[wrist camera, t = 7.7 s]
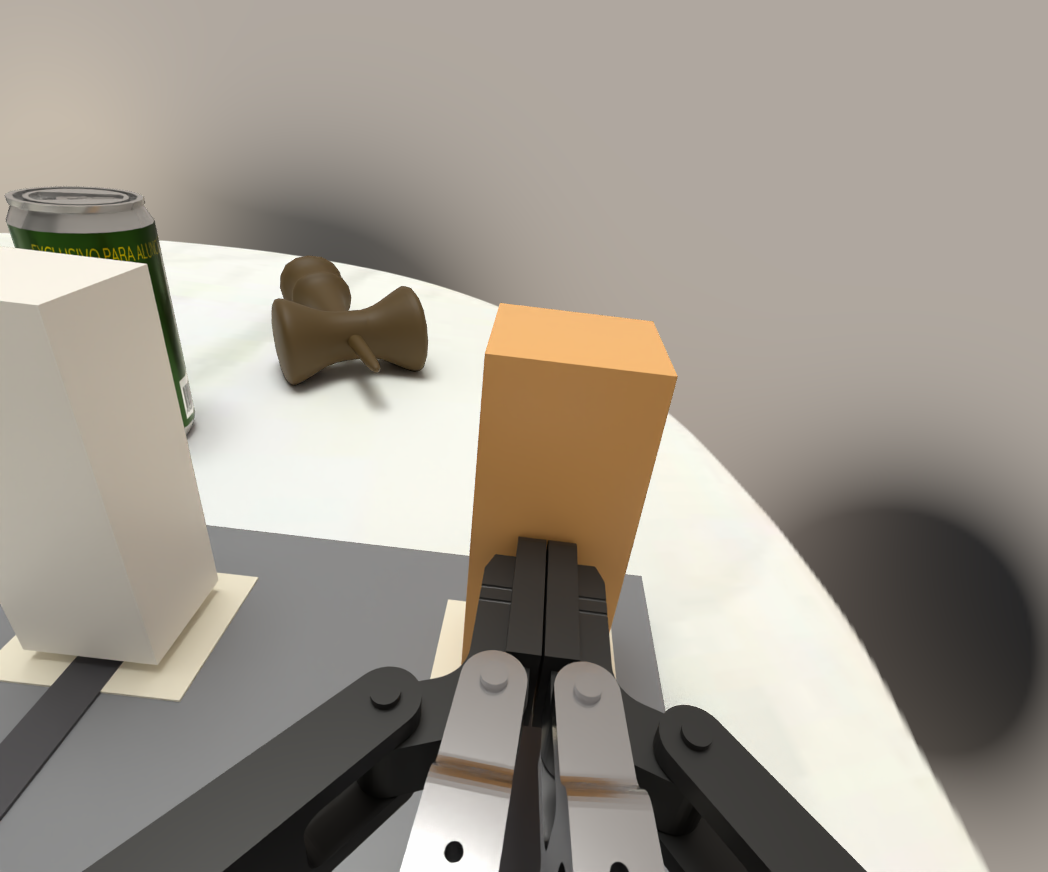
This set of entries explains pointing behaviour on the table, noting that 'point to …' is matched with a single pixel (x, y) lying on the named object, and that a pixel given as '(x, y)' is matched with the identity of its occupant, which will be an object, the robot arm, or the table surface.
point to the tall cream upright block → (93, 464)
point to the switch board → (249, 695)
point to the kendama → (342, 323)
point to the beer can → (102, 247)
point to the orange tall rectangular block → (566, 439)
